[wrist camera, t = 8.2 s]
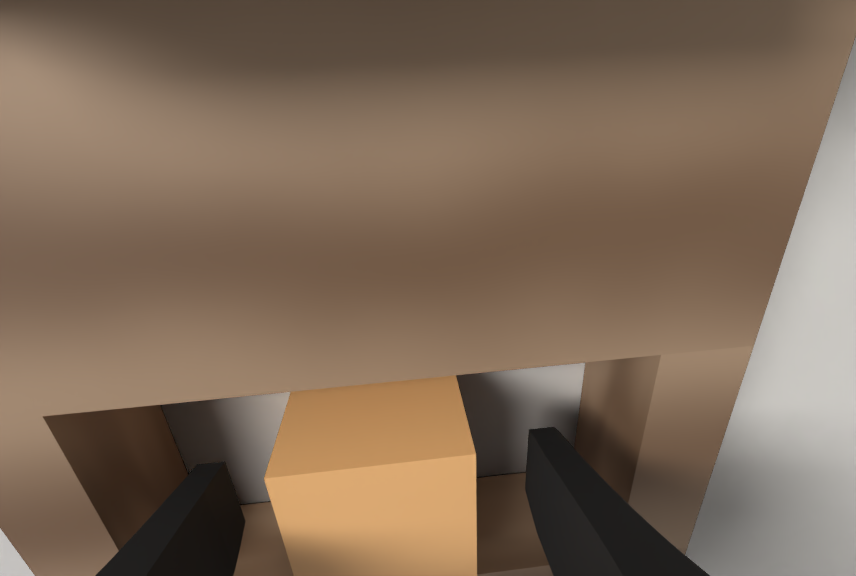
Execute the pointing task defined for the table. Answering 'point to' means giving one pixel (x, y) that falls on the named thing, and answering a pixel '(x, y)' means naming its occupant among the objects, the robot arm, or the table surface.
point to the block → (376, 480)
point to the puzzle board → (388, 231)
